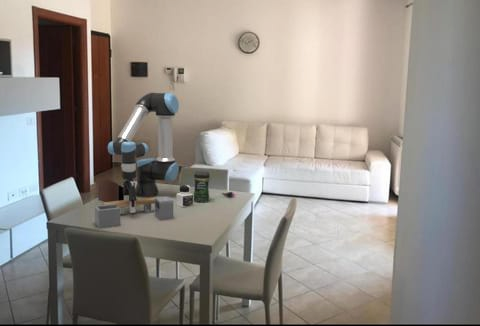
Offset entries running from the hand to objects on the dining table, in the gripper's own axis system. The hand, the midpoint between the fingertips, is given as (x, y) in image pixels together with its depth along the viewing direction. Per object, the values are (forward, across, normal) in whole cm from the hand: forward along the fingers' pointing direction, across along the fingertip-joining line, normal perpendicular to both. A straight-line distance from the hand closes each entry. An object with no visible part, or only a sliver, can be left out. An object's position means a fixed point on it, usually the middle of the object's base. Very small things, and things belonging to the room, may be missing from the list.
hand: (129, 209), depth 252 cm
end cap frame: (+2, +13, -1) cm, 13 cm away
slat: (-3, 0, 0) cm, 3 cm away
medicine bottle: (+3, -4, +34) cm, 34 cm away
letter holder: (+3, -28, -1) cm, 28 cm away
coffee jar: (+3, -9, +47) cm, 48 cm away
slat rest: (+2, 0, 0) cm, 2 cm away
